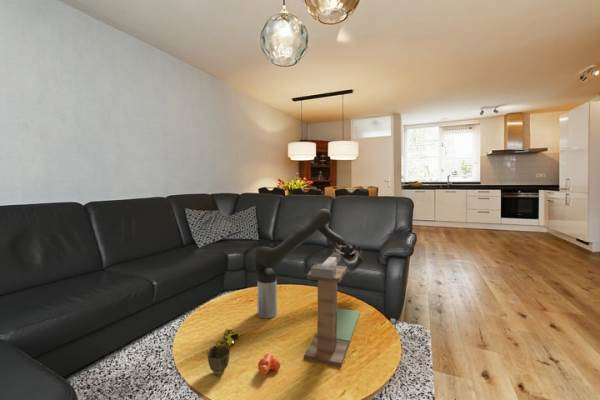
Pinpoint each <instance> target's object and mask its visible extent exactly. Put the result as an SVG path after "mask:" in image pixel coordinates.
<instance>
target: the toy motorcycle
mask: <svg viewBox="0 0 600 400" xmlns="http://www.w3.org/2000/svg"><path fill="white" fill-rule="evenodd" d="M241 335H242V332H241V330H240V331H238V332H234V330H233V329H229V328H225V330H224V331H223V339H222V340H221V339H220V340H217V341H216V342H215V346H216V347H218V345H220V347H221V346H222V345H226V347H228V348H230V346H234V343H235V339H237V338H239V337H240V336H241Z"/></svg>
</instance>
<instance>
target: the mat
mask: <svg viewBox="0 0 600 400" xmlns="http://www.w3.org/2000/svg"><path fill="white" fill-rule="evenodd" d="M360 315H361V311H360V310H359V311H357V310H351V309H345V308H339V307H337V340H342V341H347V342H349V344H350V343H351V340H352V338H353V335H354V331H355V329H356V325H357V322H358V321H359V317H360ZM316 335H317V336H318V332H317V333H316Z"/></svg>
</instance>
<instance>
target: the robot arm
mask: <svg viewBox="0 0 600 400" xmlns="http://www.w3.org/2000/svg"><path fill="white" fill-rule="evenodd" d="M331 220H332V213H331V211H330V210H329V209H326V208H321V209H318V210H317V211H316V212H314V213H313V214H312V215H311V217H310V218H308V219H307V220H304V221H303V222H300V223H299V224H297V225H296V226H294V227H293V228H291V229H290V230H288V231H287V233H286V234H285V236H284V239H283V241H282V242H281V243H279V244H278V245H277V246H275V247H273V248H272V247H268V246H263V245H262V246H260V247H259V248H258V249H256V252H255V255H254V264H255V266H254V267H255V275H256V278H257V294H256V296H257V297H256V298H257V299H256V300H257V301H256V303H257V304H256V306H257V308H256V309H257V311H256V312H257V318H259V319H271V318H275V317H276V316H277V315H278V302H277V301H278V292H277V291H278V290H277V289H278V288H277V287H278V285H277V284H278V283H277V282H278V281H277V279H278V278H277V273H276V272H275V271H274V270H273V268H274V267H276V266H277V265H279V264H280V263H281V262H282V261H283V260H284V259H285V258H286V257H287V256H288V255H289V254H290V253H292V252H293V251H295V249H297V248H298V247H299V246H300V245H302V244H303V243H305V242H306V241H307V240H308V239H309V238H310V237H311V236H313V234H315V232H317V231H318V232H319V233H321V234H322V235H323V236H324V237H325V238H326V239H327V241H329V242H330V243H331V244H332V245H331V251H332V253H334V252H340V253H341V258H343V260H344V266H345V267H347V271H349V272H354V271H356V270H357V269H358V268H360V267H361V266H362V265H363V264H364V260H365V259H364V258H363V257H362V246H357V245H356V244H355V243H353V244H352V245H350V244H348V242H347V241H346V240H345V239H344V238H343V237H342V236H341V235H339V234H338V233H336V232H335V231H333V230H331V229H330V227H328V224H329V223H330V222H331Z"/></svg>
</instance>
